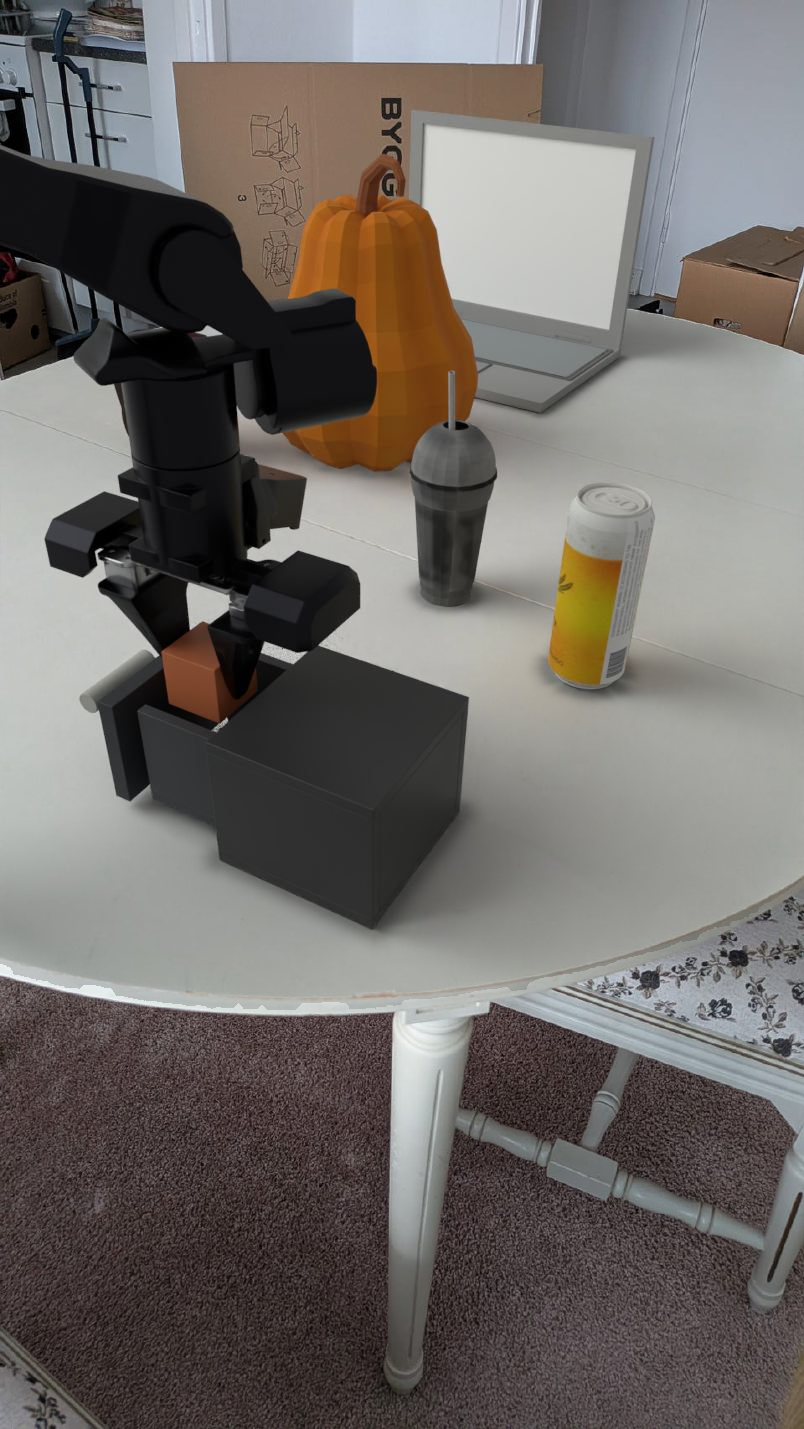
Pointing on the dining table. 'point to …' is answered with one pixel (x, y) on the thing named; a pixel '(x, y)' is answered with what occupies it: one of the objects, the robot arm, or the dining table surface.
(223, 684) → the block
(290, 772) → the cabinet
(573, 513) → the beer can
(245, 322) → the robot arm
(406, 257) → the decorative pumpkin
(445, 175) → the laptop
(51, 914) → the dining table surface
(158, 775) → the drawer
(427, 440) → the beverage cup
